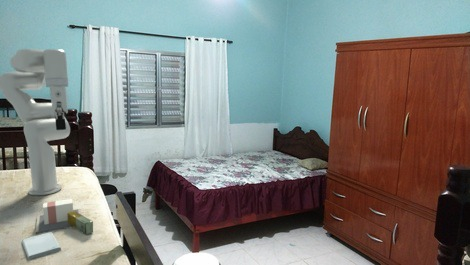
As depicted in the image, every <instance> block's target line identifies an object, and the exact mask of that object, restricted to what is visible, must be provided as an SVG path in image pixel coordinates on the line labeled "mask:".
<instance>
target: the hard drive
mask: <svg viewBox="0 0 470 265" xmlns="http://www.w3.org/2000/svg"><path fill="white" fill-rule="evenodd" d="M21 242H22V245H23V248H24V251H25V254H26V256H27V259H28V260H32V259H36V258H39V257H42V256H43V257H44V256H46V255H49V254H53V253H56V252H60V251H62V247H61V245H60V244H59V242H58V240H57V239H56V237H55V235H54V234H53V232H52V231H48V232H44V233H40V234H38V235H34V236H30V237H27V238H24V239H21Z"/></svg>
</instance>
